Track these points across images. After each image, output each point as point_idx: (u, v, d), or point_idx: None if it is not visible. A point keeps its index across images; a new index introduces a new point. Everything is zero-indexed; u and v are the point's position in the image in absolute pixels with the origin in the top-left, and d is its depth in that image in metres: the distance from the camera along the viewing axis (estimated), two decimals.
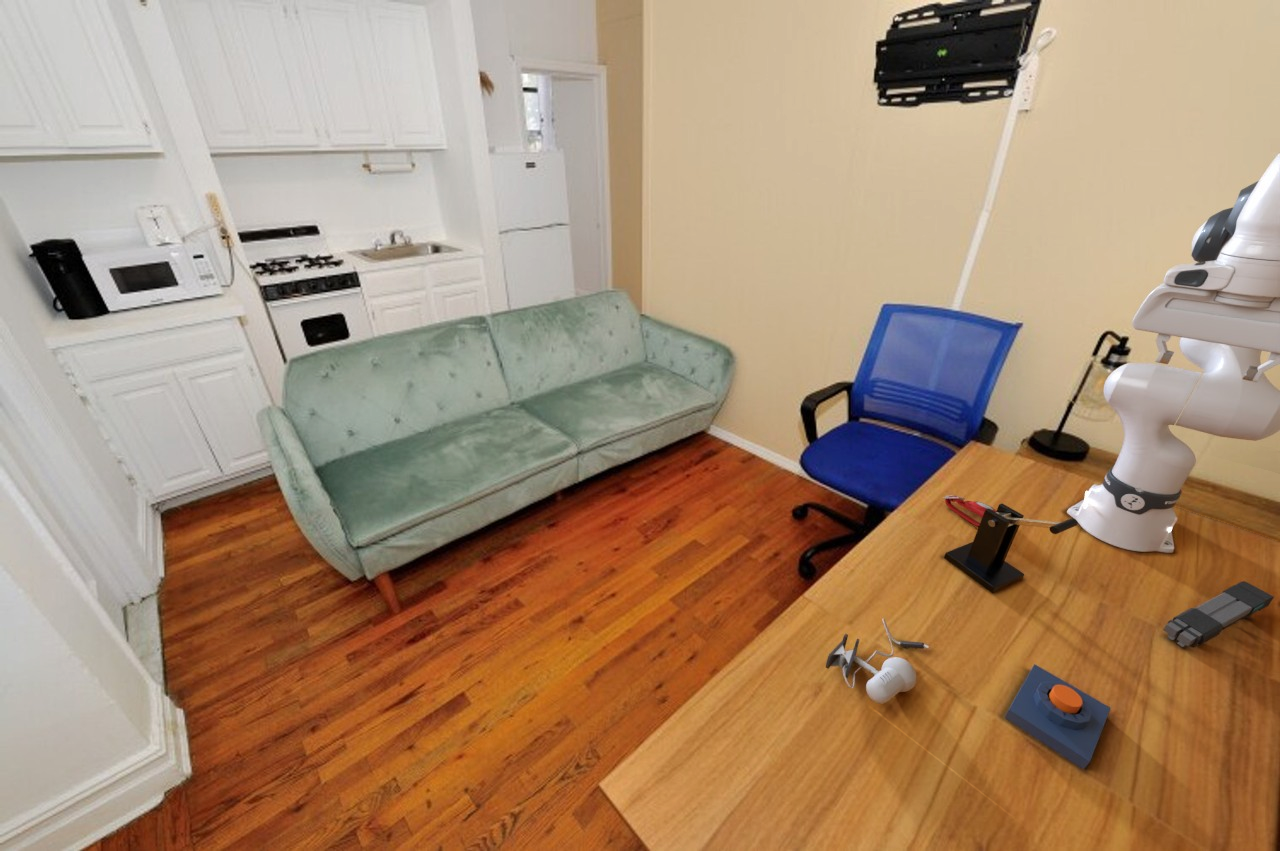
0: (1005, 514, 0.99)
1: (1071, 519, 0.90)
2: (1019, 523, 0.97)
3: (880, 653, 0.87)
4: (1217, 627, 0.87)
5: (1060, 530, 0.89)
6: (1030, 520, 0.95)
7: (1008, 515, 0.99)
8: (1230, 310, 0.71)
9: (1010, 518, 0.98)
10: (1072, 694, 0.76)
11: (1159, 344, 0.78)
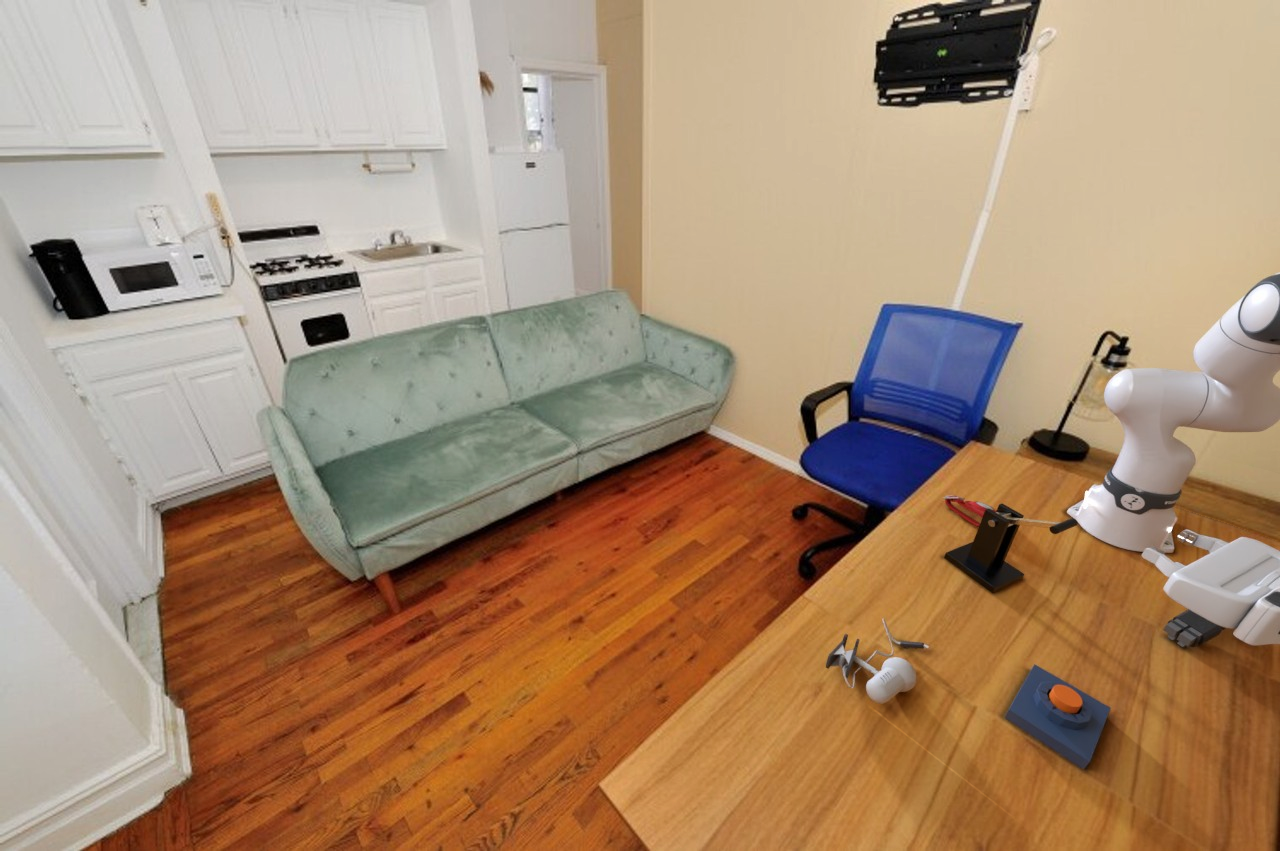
0: (1005, 514, 0.99)
1: (1071, 519, 0.90)
2: (1019, 523, 0.97)
3: (880, 653, 0.87)
4: (1217, 627, 0.87)
5: (1060, 530, 0.89)
6: (1030, 520, 0.95)
7: (1008, 515, 0.99)
8: None
9: (1010, 518, 0.98)
10: (1072, 694, 0.76)
11: None
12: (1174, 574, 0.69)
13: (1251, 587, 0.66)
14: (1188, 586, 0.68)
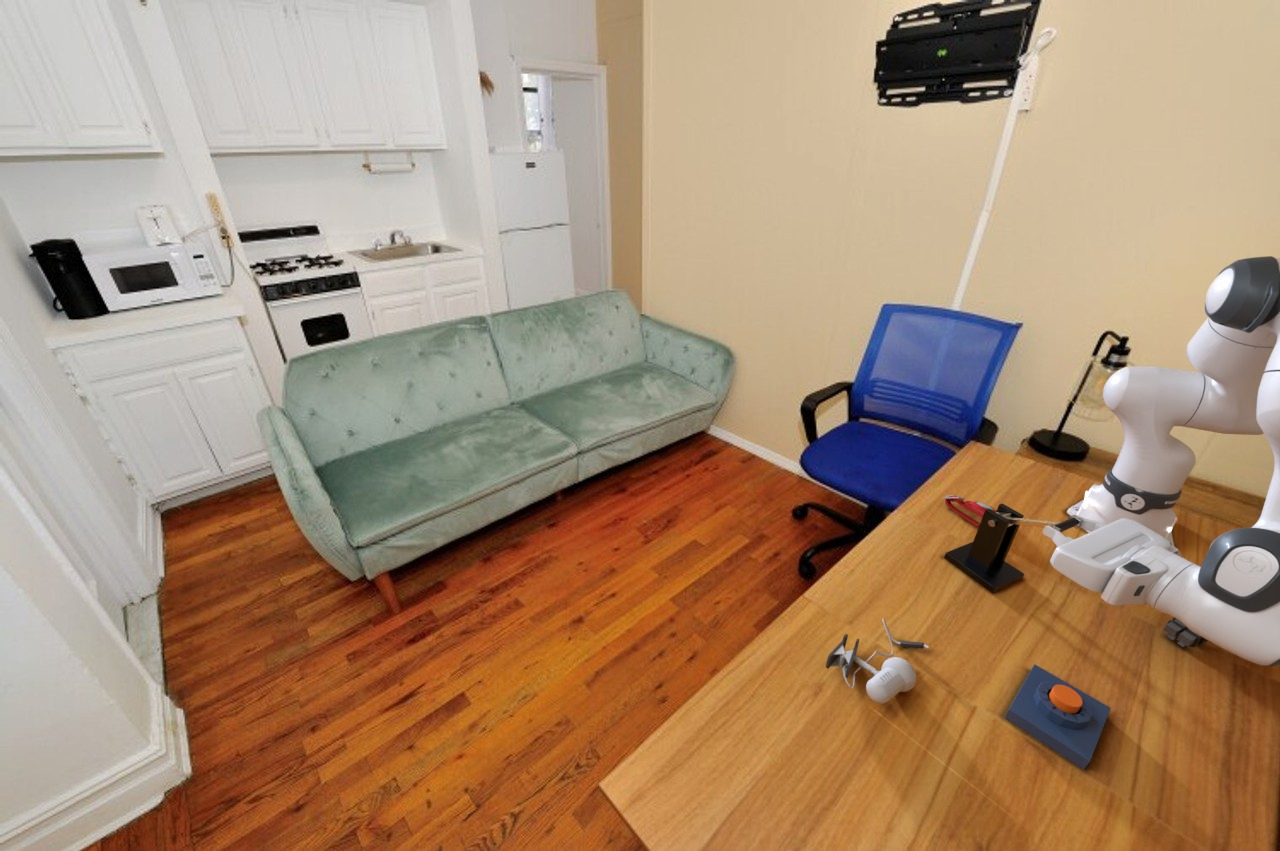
0: (1005, 514, 0.99)
1: (1071, 519, 0.90)
2: (1019, 523, 0.97)
3: (880, 653, 0.87)
4: None
5: None
6: (1030, 520, 0.95)
7: (1008, 515, 0.99)
8: None
9: (1010, 518, 0.98)
10: (1072, 694, 0.76)
11: None
12: (1057, 548, 0.83)
13: (1117, 558, 0.80)
14: (1066, 558, 0.81)
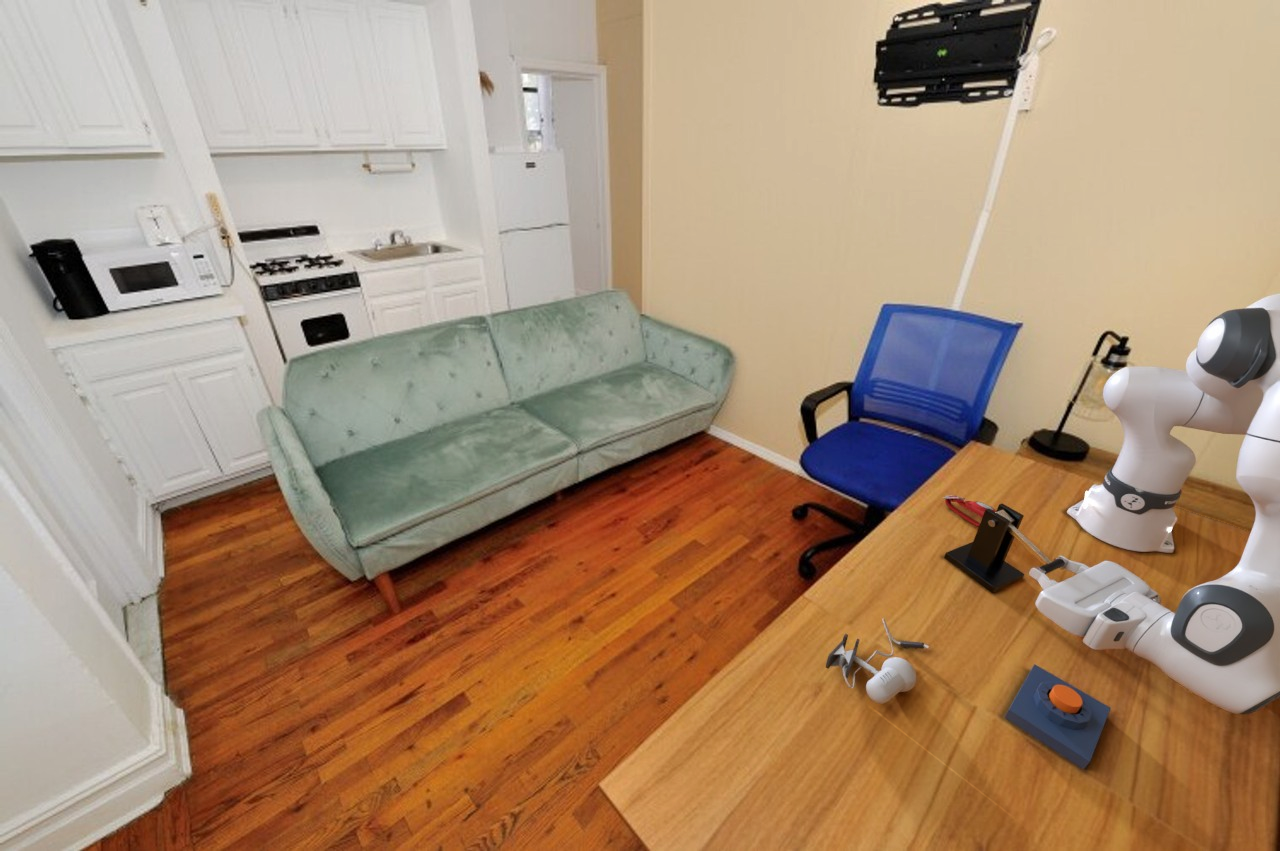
0: None
1: (1061, 562, 0.93)
2: (1015, 536, 0.98)
3: (880, 653, 0.87)
4: None
5: (1046, 573, 0.92)
6: (1026, 541, 0.96)
7: (1011, 521, 0.99)
8: None
9: (1010, 526, 0.99)
10: (1072, 694, 0.76)
11: None
12: (1041, 592, 0.86)
13: (1098, 603, 0.84)
14: (1050, 602, 0.85)
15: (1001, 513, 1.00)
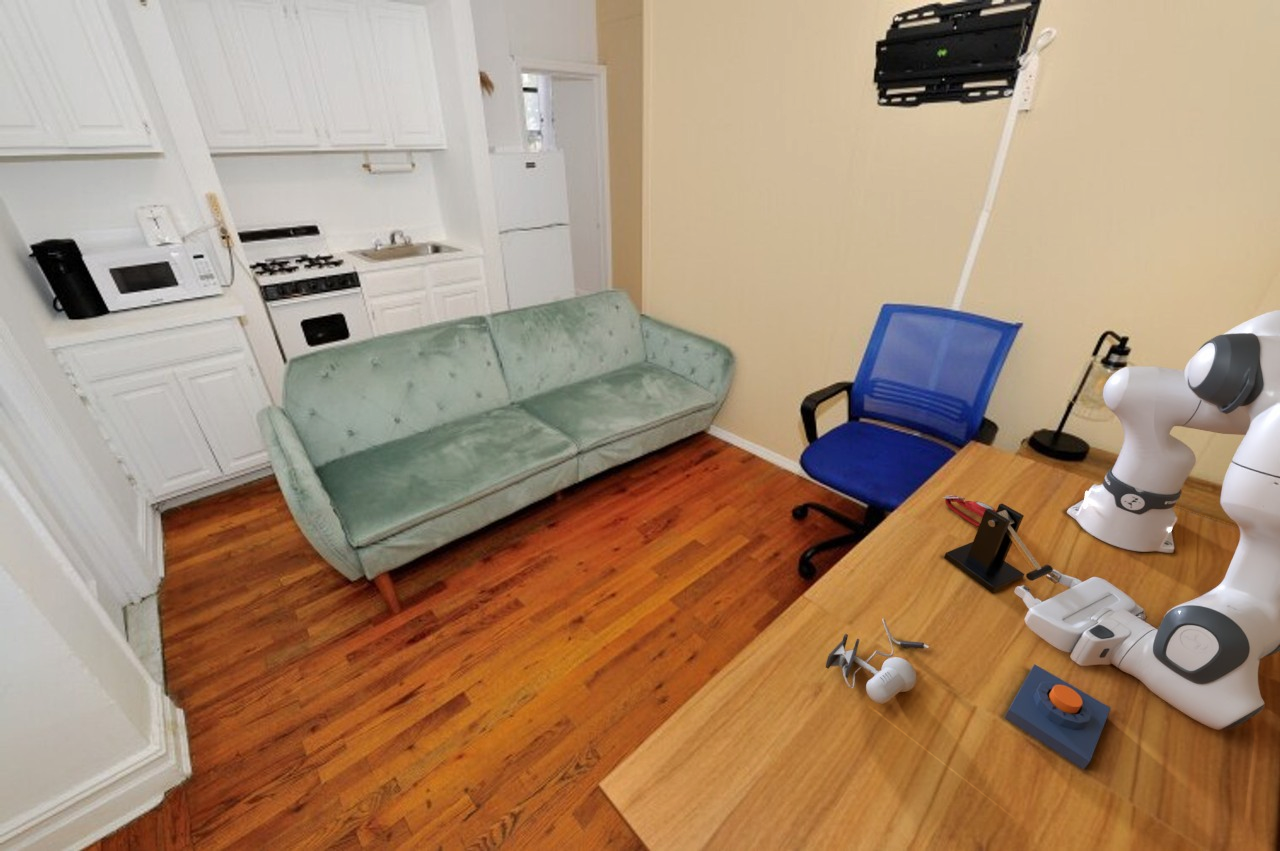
0: None
1: (1050, 569, 0.96)
2: (1011, 538, 0.99)
3: (880, 653, 0.87)
4: None
5: (1034, 579, 0.95)
6: (1021, 545, 0.97)
7: None
8: None
9: (1009, 527, 0.99)
10: (1072, 694, 0.76)
11: None
12: (1030, 609, 0.89)
13: (1085, 620, 0.86)
14: (1039, 619, 0.87)
15: (1003, 514, 1.00)
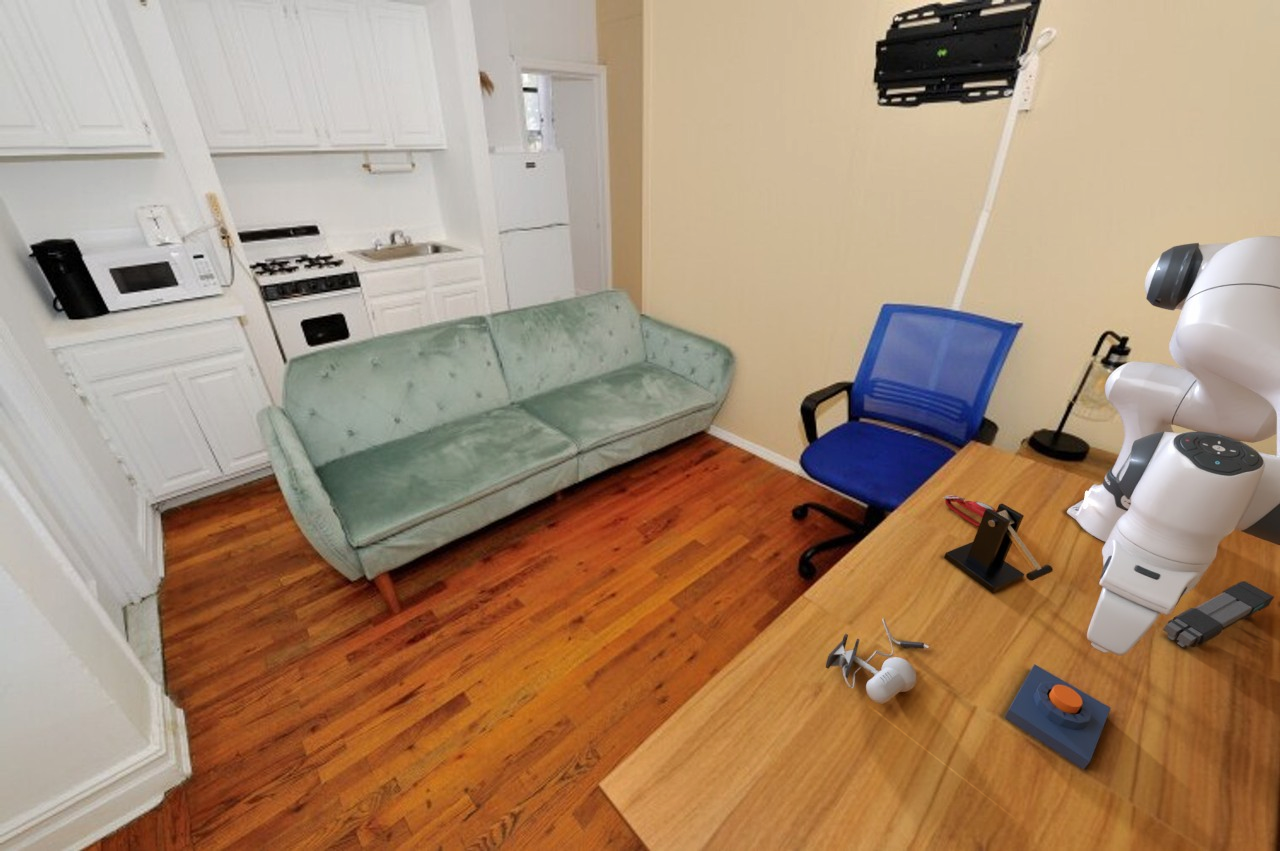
0: None
1: (1050, 569, 0.96)
2: (1011, 538, 0.99)
3: (880, 653, 0.87)
4: (1217, 627, 0.87)
5: (1034, 579, 0.95)
6: (1021, 545, 0.97)
7: None
8: None
9: (1009, 527, 0.99)
10: (1072, 694, 0.76)
11: None
12: (1088, 639, 0.63)
13: None
14: (1096, 632, 0.61)
15: (1003, 514, 1.00)
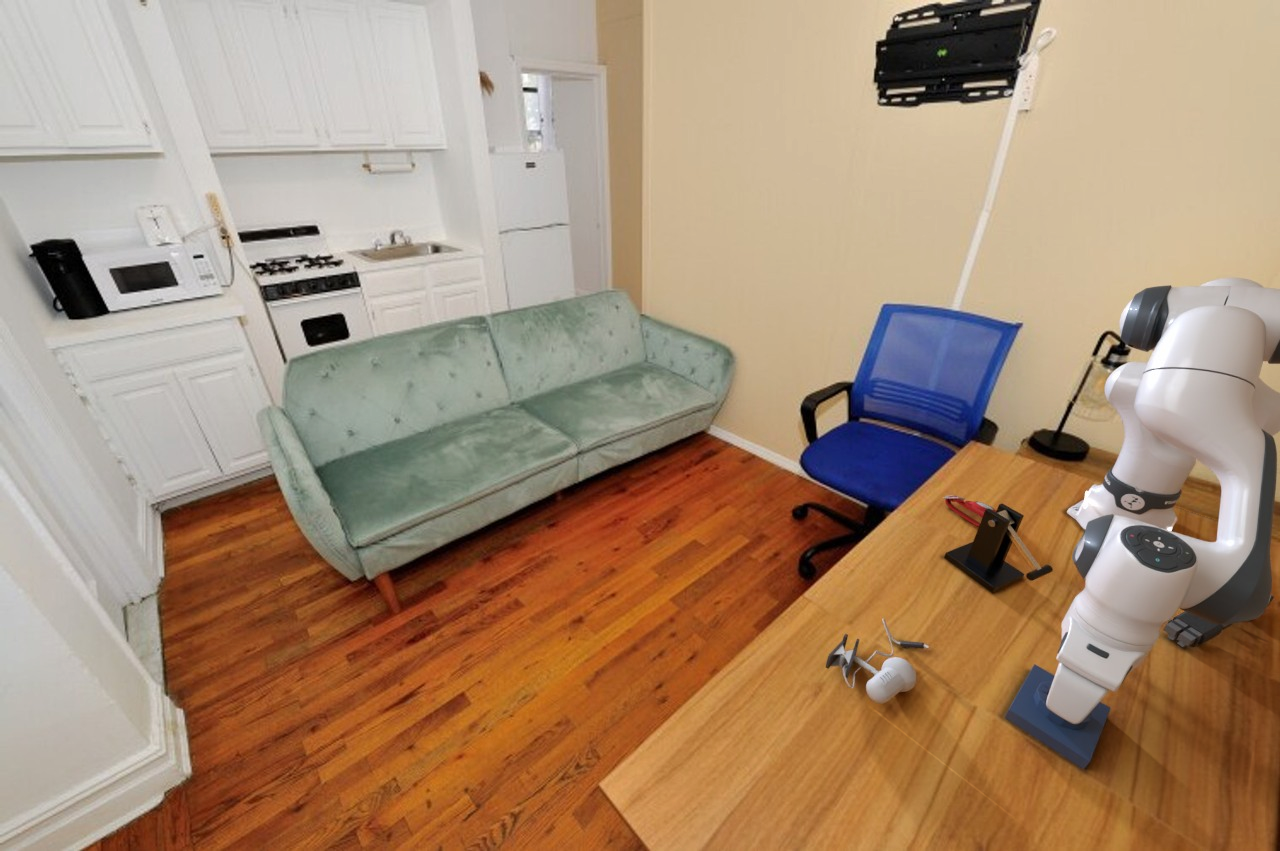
0: None
1: (1050, 569, 0.96)
2: (1011, 538, 0.99)
3: (880, 653, 0.87)
4: (1217, 627, 0.87)
5: (1034, 579, 0.95)
6: (1021, 545, 0.97)
7: None
8: None
9: (1009, 527, 0.99)
10: None
11: None
12: (1047, 707, 0.69)
13: None
14: (1053, 702, 0.68)
15: (1003, 514, 1.00)
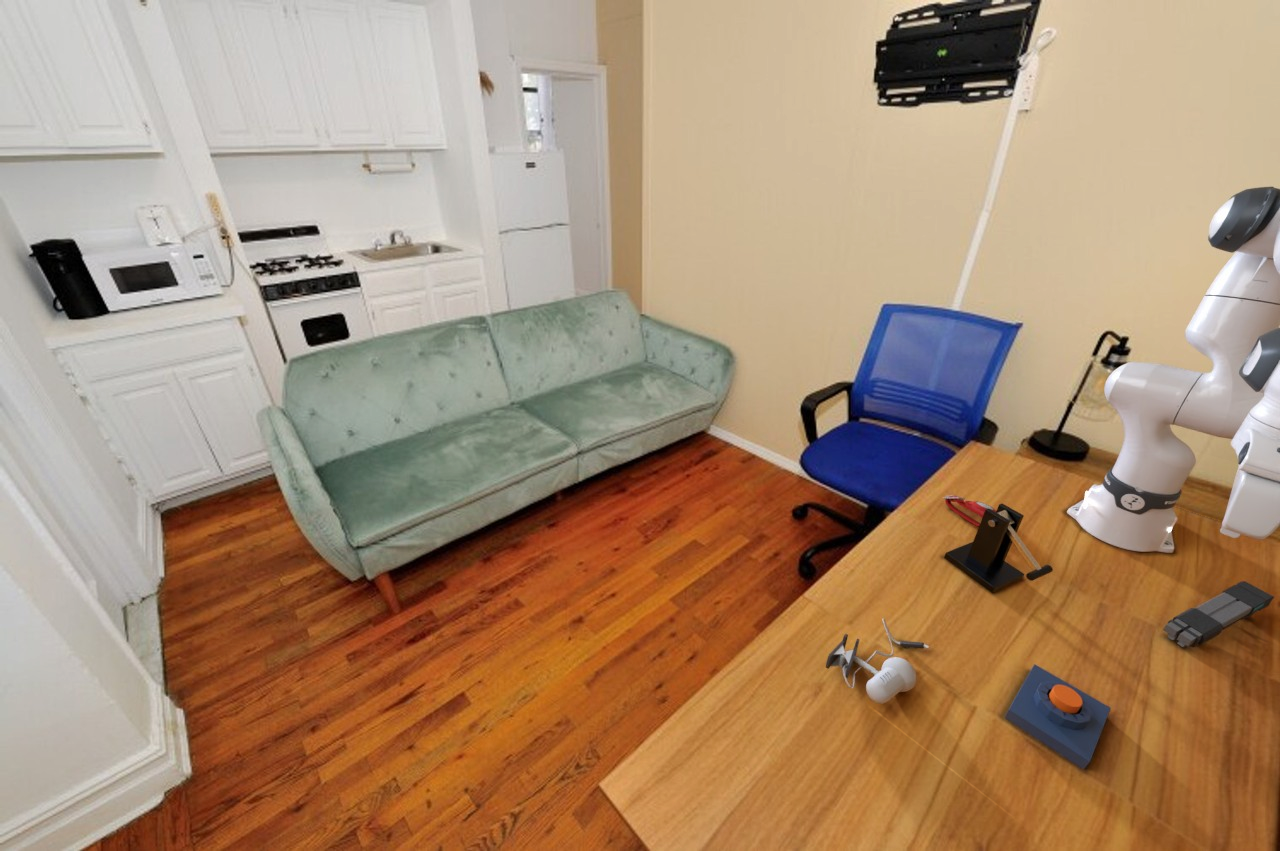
0: None
1: (1050, 569, 0.96)
2: (1011, 538, 0.99)
3: (880, 653, 0.87)
4: (1217, 627, 0.87)
5: (1034, 579, 0.95)
6: (1021, 545, 0.97)
7: None
8: None
9: (1009, 527, 0.99)
10: (1072, 694, 0.76)
11: None
12: (1224, 527, 0.63)
13: None
14: (1235, 517, 0.61)
15: (1003, 514, 1.00)
